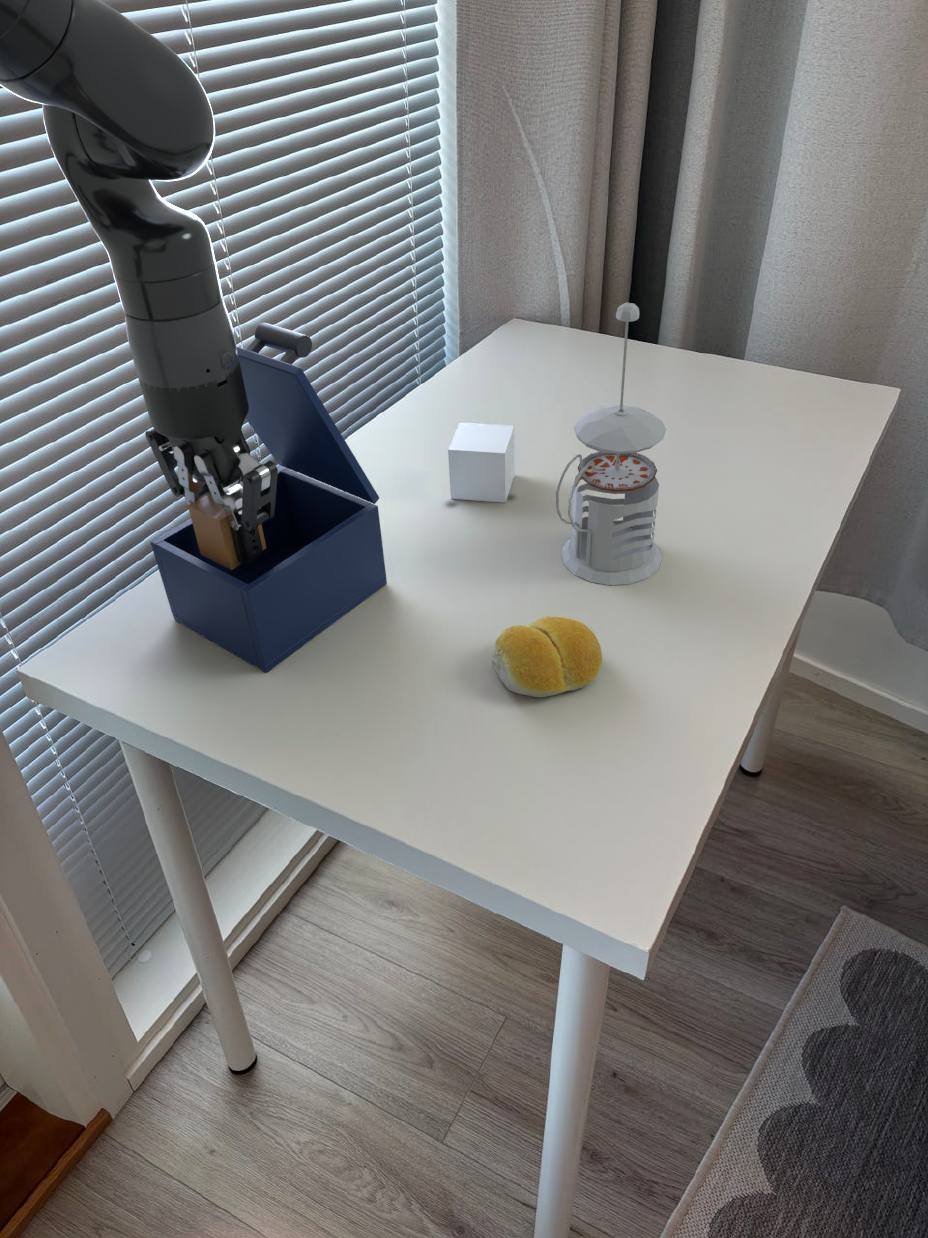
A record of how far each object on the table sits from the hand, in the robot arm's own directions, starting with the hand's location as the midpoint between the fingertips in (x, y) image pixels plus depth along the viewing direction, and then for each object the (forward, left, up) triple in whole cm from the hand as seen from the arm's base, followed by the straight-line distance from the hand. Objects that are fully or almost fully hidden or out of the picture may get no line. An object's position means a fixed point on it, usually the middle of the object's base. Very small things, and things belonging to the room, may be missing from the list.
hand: (232, 549), depth 82 cm
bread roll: (+23, -15, -9) cm, 29 cm away
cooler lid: (+7, +5, +8) cm, 12 cm away
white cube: (+27, +15, -9) cm, 32 cm away
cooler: (+3, +2, -8) cm, 9 cm away
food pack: (0, 0, 0) cm, 0 cm away
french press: (+34, -2, -9) cm, 35 cm away
